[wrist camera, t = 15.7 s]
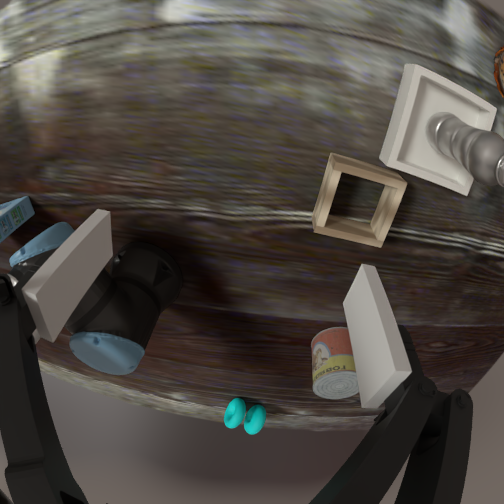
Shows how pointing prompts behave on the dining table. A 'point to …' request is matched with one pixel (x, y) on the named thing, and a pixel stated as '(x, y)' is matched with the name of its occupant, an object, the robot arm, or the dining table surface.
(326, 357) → the canned food
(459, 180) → the plastic tray
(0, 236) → the gum box
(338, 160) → the wooden collar
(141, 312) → the robot arm
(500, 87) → the patterned ceramic bowl
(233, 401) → the turquoise yo-yo
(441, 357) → the dining table surface
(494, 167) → the plastic bottle
